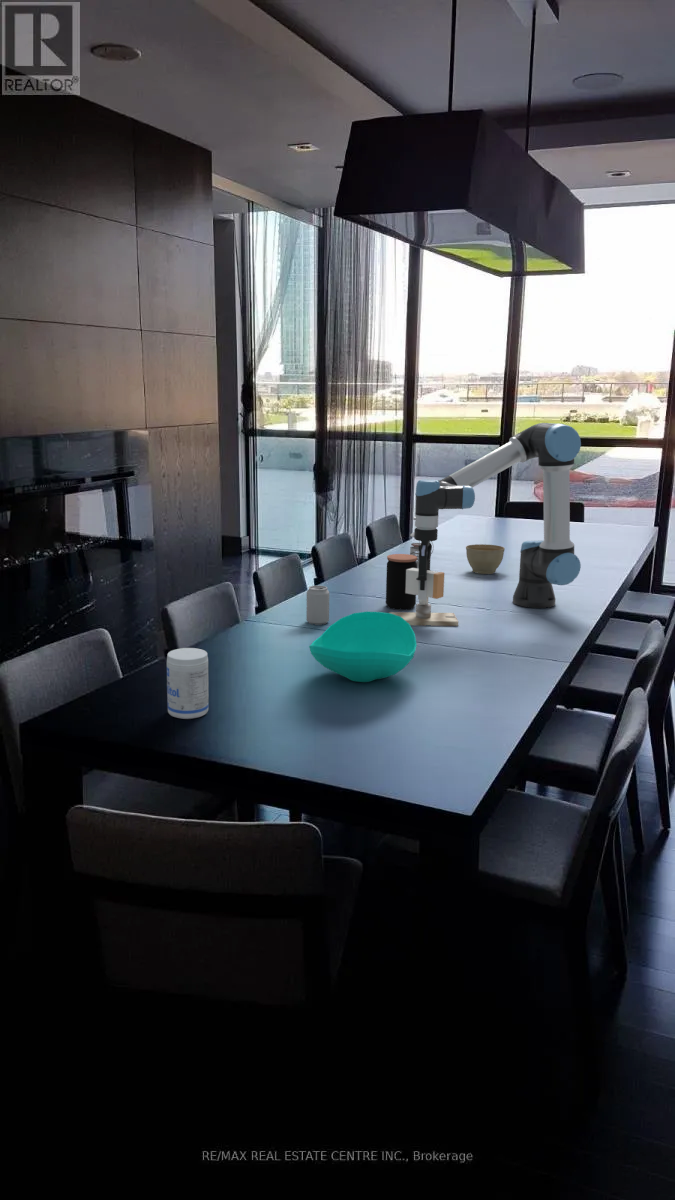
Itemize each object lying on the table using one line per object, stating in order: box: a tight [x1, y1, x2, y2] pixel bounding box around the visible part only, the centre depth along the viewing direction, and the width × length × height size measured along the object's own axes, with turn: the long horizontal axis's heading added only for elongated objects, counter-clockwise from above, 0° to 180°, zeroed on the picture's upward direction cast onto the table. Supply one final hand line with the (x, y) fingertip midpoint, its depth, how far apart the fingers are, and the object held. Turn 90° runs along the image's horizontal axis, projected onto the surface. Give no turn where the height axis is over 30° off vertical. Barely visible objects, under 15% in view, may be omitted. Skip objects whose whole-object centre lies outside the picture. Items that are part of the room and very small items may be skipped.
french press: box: [409, 532, 434, 569], centre depth 373 cm, size 10×12×25 cm
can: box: [305, 585, 330, 626], centre depth 282 cm, size 8×8×12 cm
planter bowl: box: [465, 543, 505, 575], centre depth 364 cm, size 16×16×11 cm
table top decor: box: [309, 611, 418, 683], centre depth 228 cm, size 40×28×13 cm
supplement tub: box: [166, 647, 209, 720], centre depth 201 cm, size 10×10×15 cm
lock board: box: [388, 603, 459, 627], centre depth 286 cm, size 22×11×6 cm, turn 90°
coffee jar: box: [385, 553, 418, 611], centre depth 303 cm, size 11×11×18 cm
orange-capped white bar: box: [405, 568, 445, 605], centre depth 284 cm, size 4×12×11 cm, turn 52°
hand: (423, 596), depth 285 cm, fingers open, 6 cm apart
